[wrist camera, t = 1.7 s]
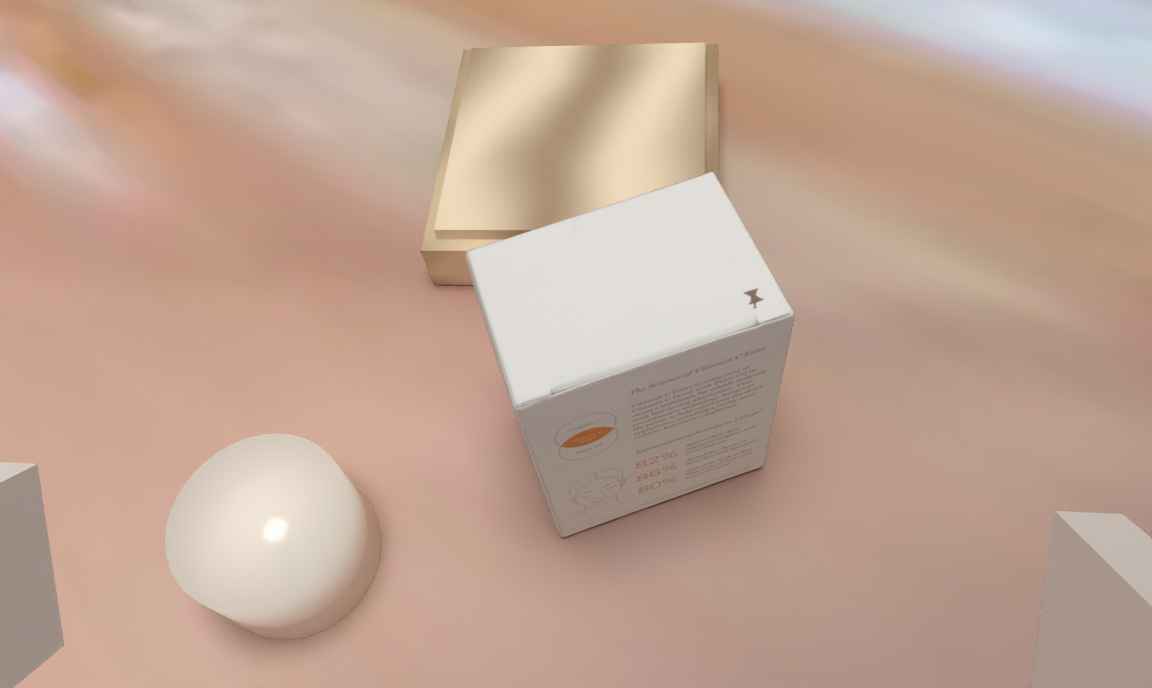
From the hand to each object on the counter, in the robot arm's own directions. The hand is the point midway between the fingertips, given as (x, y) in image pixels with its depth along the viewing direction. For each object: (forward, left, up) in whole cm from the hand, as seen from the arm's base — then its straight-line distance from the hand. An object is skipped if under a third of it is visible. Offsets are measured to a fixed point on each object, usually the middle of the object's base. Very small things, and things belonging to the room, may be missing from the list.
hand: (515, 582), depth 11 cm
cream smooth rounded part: (+12, -6, -19) cm, 23 cm away
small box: (0, -11, -19) cm, 22 cm away
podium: (+3, -24, -19) cm, 31 cm away
